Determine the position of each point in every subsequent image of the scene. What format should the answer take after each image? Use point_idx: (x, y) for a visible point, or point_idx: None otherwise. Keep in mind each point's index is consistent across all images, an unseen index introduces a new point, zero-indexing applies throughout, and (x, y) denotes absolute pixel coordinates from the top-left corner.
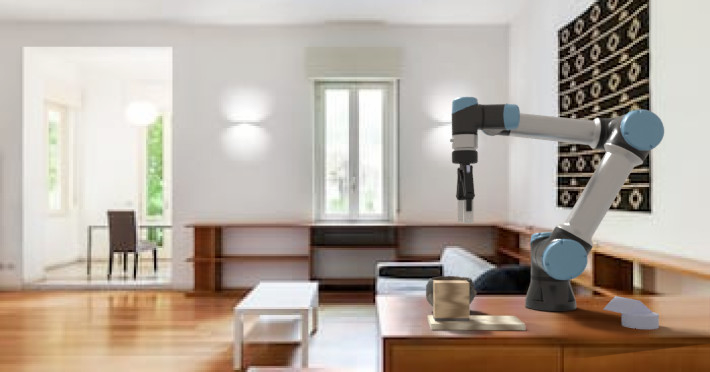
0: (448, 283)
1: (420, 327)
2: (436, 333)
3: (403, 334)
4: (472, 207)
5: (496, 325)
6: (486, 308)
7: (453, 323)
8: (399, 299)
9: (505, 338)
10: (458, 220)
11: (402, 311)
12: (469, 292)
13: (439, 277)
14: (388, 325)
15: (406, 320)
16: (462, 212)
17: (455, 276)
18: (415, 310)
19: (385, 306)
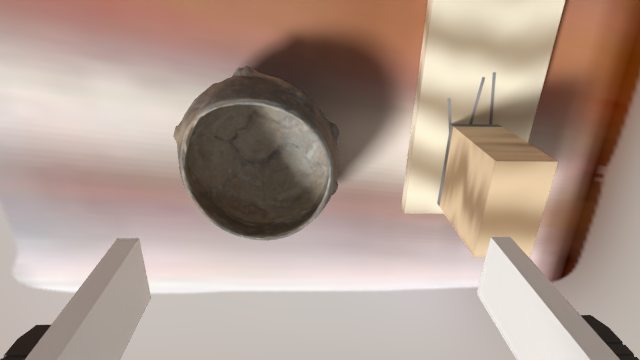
0: (538, 220)
1: None
2: None
3: (536, 258)
4: (586, 333)
5: (547, 60)
6: (199, 13)
7: None
8: (76, 253)
9: (635, 57)
10: (147, 298)
11: (275, 252)
12: (313, 105)
13: (200, 204)
14: (444, 281)
15: (393, 248)
16: (110, 321)
17: (185, 149)
18: None
19: (204, 286)
